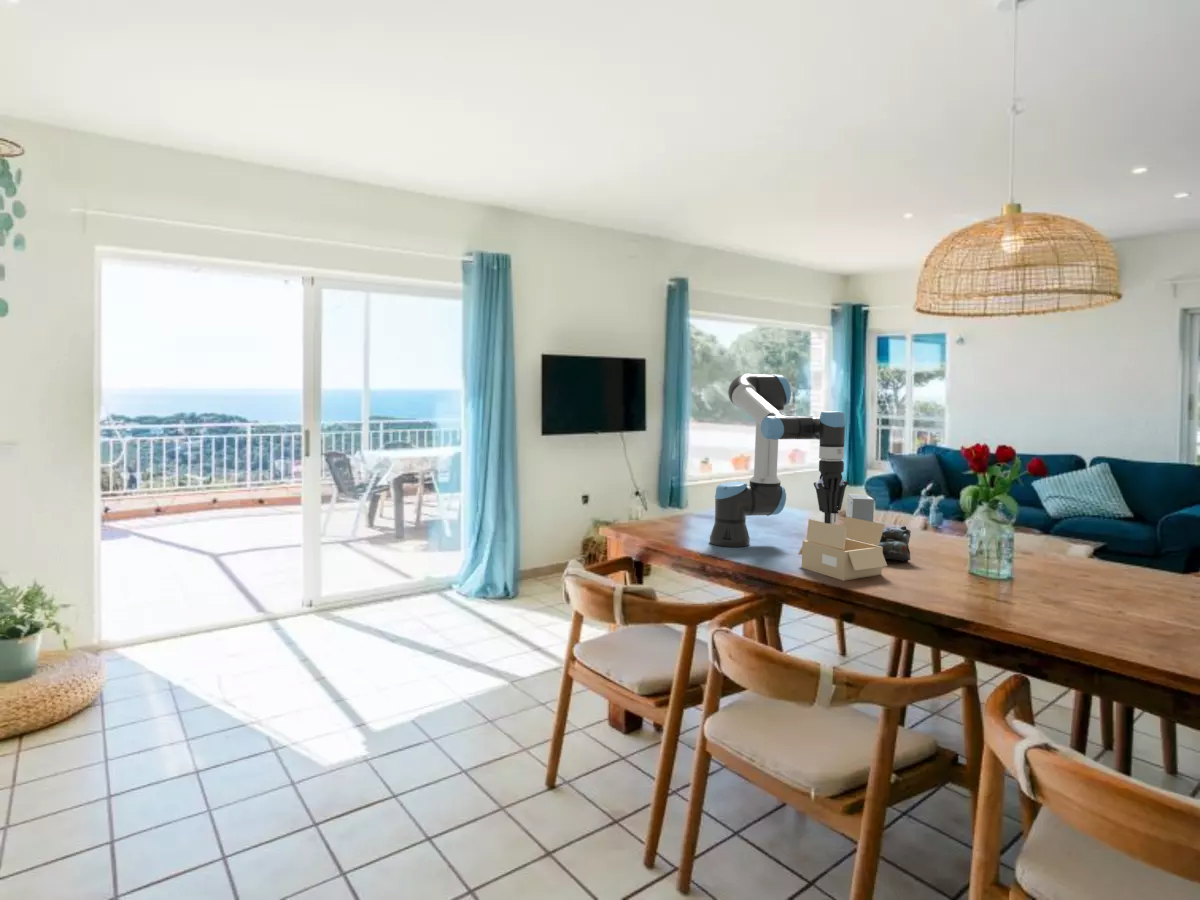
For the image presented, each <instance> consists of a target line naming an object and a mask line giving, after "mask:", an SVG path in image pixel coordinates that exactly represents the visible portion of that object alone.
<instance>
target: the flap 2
mask: <svg viewBox="0 0 1200 900" xmlns="http://www.w3.org/2000/svg"><path fill="white" fill-rule="evenodd" d="M842 526H843V527H847V530H846V538H849V539H853V540H858V541H862V542H866V543H870V544H872V545H873V544H874V545H879V543H880V539H881V536H882V533H883V530H884V528H885V526H886V524H885V523H880V522H875V521H873V522H870V521H865V520H861V519H856V518H851V517H846V516H845V517H844V522H843V525H842Z"/></svg>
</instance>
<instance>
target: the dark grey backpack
mask: <svg viewBox="0 0 1200 900" xmlns="http://www.w3.org/2000/svg"><path fill="white" fill-rule="evenodd" d="M910 539H911V530H910V529H908V528H907V526H905V525H903V526H901V527H897V526H889V527H886V528H885V529H883V533H882V536H881V539H880V543H879V545H876V546H880V547H883V556H884V558H885V560H893V561H894V560H896V561H902V562H907V563H908V562H909V561H911V550H910V548H909V545H910V544H909V543H910ZM872 545H874V544H872Z"/></svg>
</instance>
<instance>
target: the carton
mask: <svg viewBox="0 0 1200 900" xmlns="http://www.w3.org/2000/svg"><path fill="white" fill-rule="evenodd" d="M798 555H799V556H800V555H801V568H802V569H804V570H808V571H811V572H815V573H818V574H821V575H825V576H828V577H832V578H834V579H837V580H840V581H842V582H843V581H848V580H849V581H850V580H856V579H863V578H868V577H877V576H882V574H883V573H882V572H883V570H882V569H883V567H884V568H885V567H888V564H887V561H886V559H885V558H884V556H883V547H880V546H876V545H873V544H868V543H864V542H860V541H855V540H851V539H847V538H846V539H845V548H844V550H843V549H839V548H835V547H831V546H827V545H824V544H820V543H816V542H812V541H808V540H806V539H805V540H802V546H801V548H800V550H799V551H798Z"/></svg>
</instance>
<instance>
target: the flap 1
mask: <svg viewBox="0 0 1200 900" xmlns="http://www.w3.org/2000/svg"><path fill="white" fill-rule="evenodd" d="M846 530H847V527H843V525H837V524H835V523H834V524H830V523H825V522H824V521H821V520H815V519H811V518H808V525H807V531H806V532H807V533H806V539H805V540H808V541H812V542H816V543H820V544H824V545H827V546H831V547H835V548H839V549H843V550H844V548H845V539H846Z"/></svg>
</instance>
